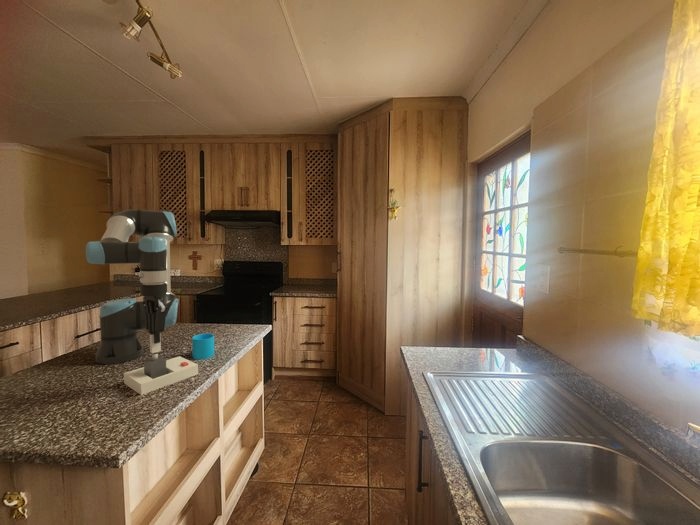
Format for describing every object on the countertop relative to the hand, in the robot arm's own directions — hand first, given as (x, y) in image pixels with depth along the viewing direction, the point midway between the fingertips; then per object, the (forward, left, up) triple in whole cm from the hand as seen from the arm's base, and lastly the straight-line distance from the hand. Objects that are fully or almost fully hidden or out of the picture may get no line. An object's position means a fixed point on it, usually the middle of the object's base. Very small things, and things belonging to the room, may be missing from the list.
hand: (155, 351), depth 99 cm
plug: (0, 0, -10) cm, 10 cm away
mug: (-9, +23, -11) cm, 27 cm away
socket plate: (0, +2, -10) cm, 10 cm away
